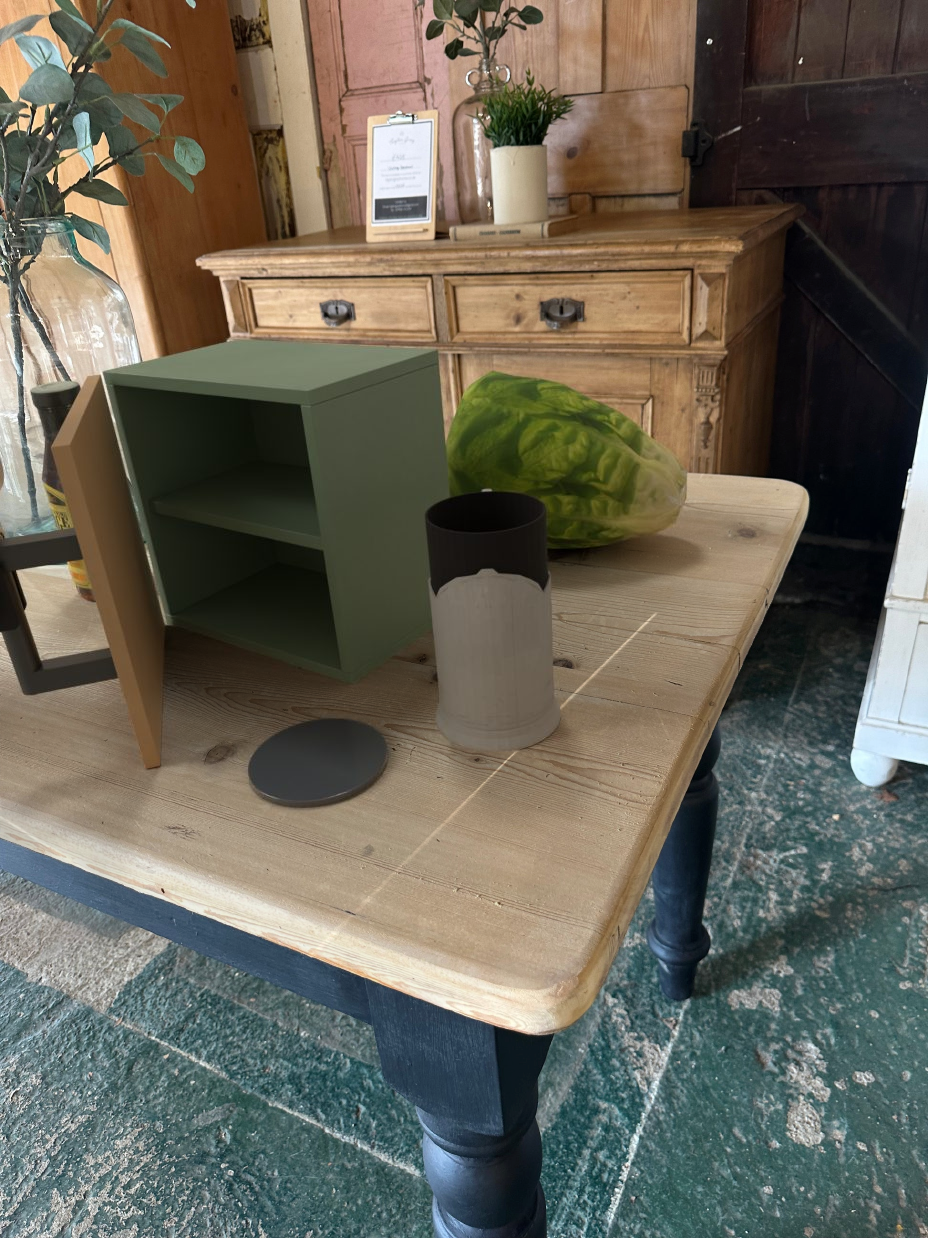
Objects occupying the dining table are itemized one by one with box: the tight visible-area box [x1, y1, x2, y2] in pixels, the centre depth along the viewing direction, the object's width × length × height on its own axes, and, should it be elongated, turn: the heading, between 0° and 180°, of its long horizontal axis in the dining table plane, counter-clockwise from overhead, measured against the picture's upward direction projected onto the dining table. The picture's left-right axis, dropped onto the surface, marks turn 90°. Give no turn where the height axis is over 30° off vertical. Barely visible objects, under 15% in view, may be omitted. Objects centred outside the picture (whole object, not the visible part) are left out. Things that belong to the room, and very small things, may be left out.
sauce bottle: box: [29, 380, 96, 603], centre depth 79 cm, size 7×6×20 cm
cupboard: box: [102, 338, 450, 685], centre depth 71 cm, size 14×22×22 cm, turn 55°
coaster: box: [247, 717, 389, 809], centre depth 56 cm, size 9×9×1 cm
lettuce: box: [445, 370, 688, 550], centre depth 83 cm, size 17×23×16 cm
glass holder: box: [425, 489, 562, 752], centre depth 59 cm, size 9×14×15 cm, turn 179°
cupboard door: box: [0, 374, 166, 770], centre depth 61 cm, size 7×22×22 cm, turn 17°
